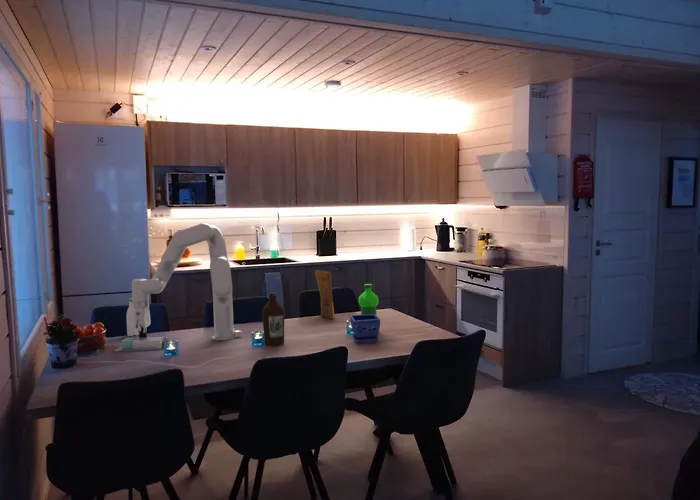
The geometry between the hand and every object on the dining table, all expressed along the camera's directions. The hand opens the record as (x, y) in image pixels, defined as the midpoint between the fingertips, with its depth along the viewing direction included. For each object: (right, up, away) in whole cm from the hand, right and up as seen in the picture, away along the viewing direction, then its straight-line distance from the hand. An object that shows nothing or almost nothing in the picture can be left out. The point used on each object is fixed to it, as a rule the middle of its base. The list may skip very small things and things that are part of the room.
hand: (143, 341), depth 270 cm
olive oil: (+65, -1, -5) cm, 65 cm away
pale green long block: (+5, -2, -10) cm, 11 cm away
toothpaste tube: (+4, -2, -7) cm, 8 cm away
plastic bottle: (+112, +2, +15) cm, 113 cm away
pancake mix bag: (+87, +4, +60) cm, 106 cm away
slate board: (+4, -2, -3) cm, 6 cm away
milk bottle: (-13, -1, +22) cm, 26 cm away
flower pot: (+109, 0, -4) cm, 109 cm away
